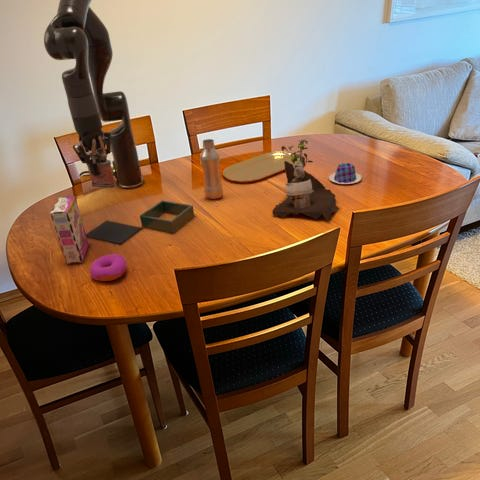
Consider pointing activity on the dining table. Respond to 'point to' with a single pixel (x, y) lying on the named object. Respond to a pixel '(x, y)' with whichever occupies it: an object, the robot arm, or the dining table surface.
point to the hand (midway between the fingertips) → (100, 172)
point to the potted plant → (304, 190)
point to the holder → (172, 226)
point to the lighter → (102, 173)
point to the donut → (108, 267)
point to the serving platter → (258, 167)
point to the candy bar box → (70, 229)
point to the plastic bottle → (211, 170)
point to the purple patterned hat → (345, 174)
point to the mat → (113, 232)
